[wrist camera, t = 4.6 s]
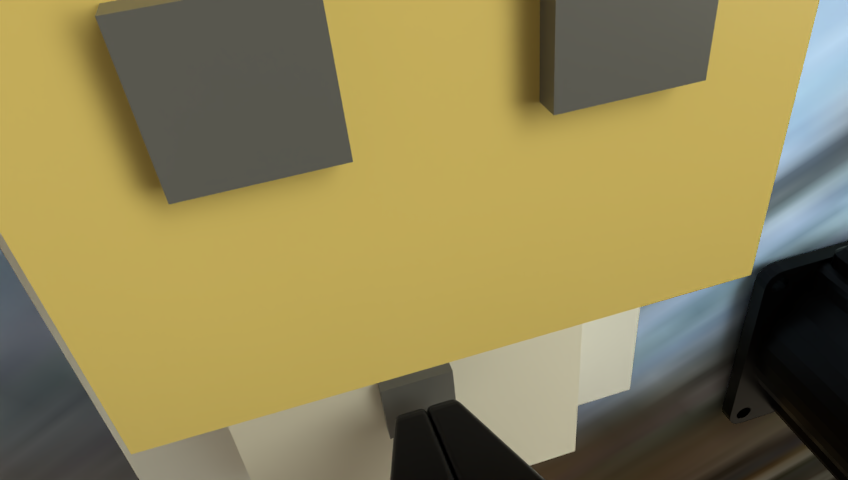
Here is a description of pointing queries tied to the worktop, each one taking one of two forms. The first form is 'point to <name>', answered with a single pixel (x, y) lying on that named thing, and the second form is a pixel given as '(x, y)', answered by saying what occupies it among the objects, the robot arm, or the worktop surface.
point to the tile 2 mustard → (372, 181)
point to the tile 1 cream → (382, 402)
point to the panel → (218, 454)
